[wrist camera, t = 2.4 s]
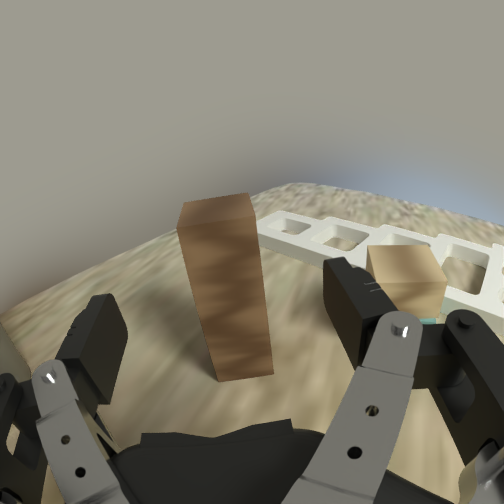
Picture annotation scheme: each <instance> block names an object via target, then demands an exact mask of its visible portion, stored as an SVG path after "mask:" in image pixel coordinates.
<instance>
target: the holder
mask: <svg viewBox="0 0 504 504" xmlns="http://www.w3.org/2000/svg"><path fill="white" fill-rule="evenodd" d="M256 225H257V233H258V241H259V246H262V247H265V248H267V249H270V250H273V251H276V252H278V253H281V254H284V255H287V256H289V257H292V258H295V259H298V260H300V261H303V262H306V263H309V264H311V265H314V266H317V267H320V268H322V269H323V261H324V260H325V259H331V258H337V257H342V256H344V257H345V258H346V260H347V261H348V262H349V264H350V265H351V266H352V268H356V267H360V268H362V269H364V270H366V258H367V245H428V246H429V248H430V250H431V251H432V253H433V255H434V257H435V258H436V260H437V262H438V264H439V266H440V267H441V266H442V264H443V262H444V261H445V259H446V257H454V258H457V259H460V260H463V261H466V262H469V263H472V264H475V265H478V266H481V267H484V268H485V269H486V274H485V277H484V281H483V284H482V288H481V291H480V294H478V295H473V294H470V293H467V292H464V291H461V290H459V289H456V288H453V287H450V286H447V287H446V291H445V295H444V299H443V302H442V306H441V310H440V312H441V313H444V314H446V315H448V314H449V313H450V312H452V311H454V310H458V309H466V310H470V311H473V312H475V313H477V314H478V315H479V316H480V317H481V318H482V319H483V320H484V321H485V322H486V324H487V325H488V326H489V327H490V328H491V330H492V331H493V332H494V333H497V334H499V335H502V336H504V304H503V303H502V302H501V301H503V302H504V275H503V274H502V267H504V246H502V245H499V244H495V243H493V245H492V248H488V247H485V246H482V245H479V244H476V243H472V242H469V241H466V240H462V239H459V238H456V237H452V236H449V235H446V234H442V233H440V234H439V235H438V236H437V237H436V238H433V237H430V236H427V235H423V234H419V233H416V232H412V231H409V230H405V229H401V228H398V227H394V226H390V225H387V224H383V225H382V226H381V227H379V228H373V227H370V226H366V225H362V224H358V223H354V222H351V221H347V220H343V219H339V218H335V217H327V218H325V219H324V220H317V219H314V218H310V217H306V216H302V215H298V214H294V213H290V212H286V211H282V210H279V211H277V212H275V213H273V214H271V215H269V216H266V217H264V218H262V219H260V220H258V221H256ZM282 230H289V231H292V232H296V233H299V234H298V235H290V234H287V233H284V232H281V231H282ZM332 237H338V238H341V239H345V240H348V241H352V242H355V243H358V244H359V245H358V246H356V247H355V248H354V249H353V250H351V251H342V250H339V249H335V248H332V247H329V246H326V245H323V243H324V242H326V241H327V240H329V239H330V238H332Z"/></svg>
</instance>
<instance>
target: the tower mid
mask: <svg viewBox="0 0 504 504" xmlns="http://www.w3.org/2000/svg"><path fill="white" fill-rule="evenodd" d="M366 271H367V272H369V273H370V274H371V275H372V276H373V278H374V279H375V280H376V283H378V284H379V285H380V287H381V289H383V290H384V292H385V293H386V294H387V296H388V297H389V298H390V300H391V301H392V302H393V303H394V305H395V306H396V307H397V309H398V310H399V311H404V312H408V313H411V314H413V315H415V316H416V317H417V318H418V319H428V318H438V317H439V313H440V310H441V306H442V302H443V299H444V295H445V291H446V287H447V283H448V280H447V279H446V277H445V275H444V273H443V271H442V269H441V267H440V266H439V264H438V262H437V260H436V258H435V257H434V255H433V253H432V251H431V250H430V248H429V246H428V245H367V258H366Z"/></svg>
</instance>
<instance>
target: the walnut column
mask: <svg viewBox="0 0 504 504" xmlns="http://www.w3.org/2000/svg"><path fill="white" fill-rule="evenodd" d="M177 233H178V237H179V241H180V245H181V249H182V254H183V258H184V262H185V266H186V270H187V274H188V277H189V281H190V285H191V289H192V293H193V296H194V300H195V304H196V307H197V311H198V315H199V318H200V322H201V325H202V329H203V332H204V336H205V339H206V342H207V346H208V349H209V353H210V356H211V359H212V362H213V366H214V369H215V372H216V375H217V378H218V382H223V381H231V380H239V379H246V378H253V377H259V376H266V375H272V374H274V370H273V361H272V352H271V344H270V335H269V326H268V317H267V309H266V300H265V292H264V283H263V275H262V266H261V258H260V250H259V241H258V233H257V225H256V216H255V213H254V210H253V206H252V203H251V200H250V197H249V194H248V193H243V194H235V195H228V196H222V197H216V198H209V199H203V200H197V201H191V202H185V203H184V204H183V208H182V211H181V214H180V217H179V221H178V224H177Z"/></svg>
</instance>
